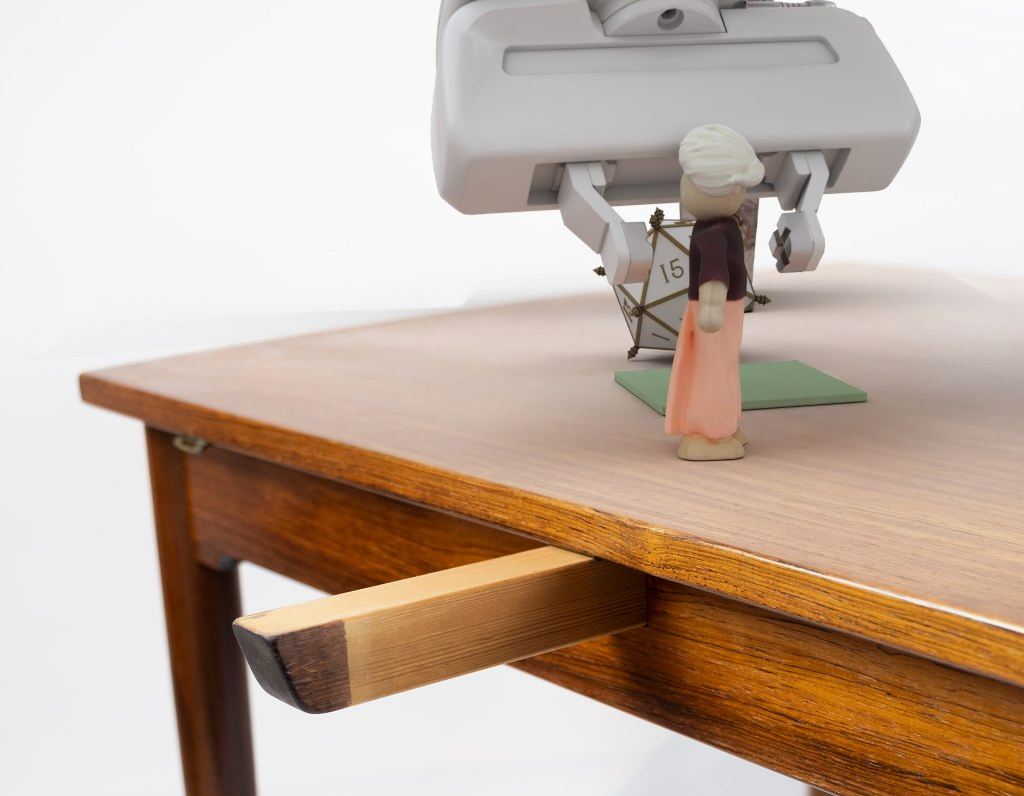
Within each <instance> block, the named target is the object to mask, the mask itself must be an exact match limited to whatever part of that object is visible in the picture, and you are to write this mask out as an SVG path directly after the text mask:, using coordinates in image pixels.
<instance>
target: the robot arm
mask: <svg viewBox="0 0 1024 796" xmlns="http://www.w3.org/2000/svg"><path fill="white" fill-rule="evenodd" d="M437 17H438V18H437V24H436V38H435V77H434V87H433V96H432V104H431V105H432V106H431V113H430V150H431V159H432V168H433V174H434V179H435V180H434V181H435V185H436V188H437V193H438V195H439V197H440V198H441V199H442V200H443V201H444V202H445V203H447V204H448V205H449V206H451V207H452V208H453V209H454V210H455V211H457V212H458V213H461V214H462V215H465V216H476V215H477V216H478V215H491V214H510V213H511V214H512V213H524V212H525V213H526V212H543V211H559V212H560V215H561V220H562V223H563V225H564V227H566V229H568V230H569V231H570V232H572V234H573V235H575V237H577V238H578V239H579V240H580V241H582V242H583V243H584V245H586V246H587V247H588V248H589V249H590V250H592V251H593V252H594V253H595V254H596V255H600V258H601V262H602V267H604V270H605V273H606V280H607V283H608V284H609V285H610V286H612V285H620V284H631V283H641V282H647V280H648V277H649V276H648V271H649V270H651V269H652V266H653V260H654V256H653V248H652V245H651V243H649V242H648V241H647V238H648V235H649V234H648V231H649V230H648V228H647V225H646V221H626V220H624V219H623V217H621V215H620V214H619V213H618V212H617V211H616V210H615V209H614V208H613V207H627V206H628V207H629V206H631V207H632V206H645V205H646V206H648V205H662V204H679V203H682V200H681V195H680V182H681V178H682V175H683V173H684V171H683V168H682V167H681V166H680V162H679V149H680V142H682V141H683V140H684V138H685V137H686V136H687V134H688V133H689V132H690V131H691V130H692V129H694V128H699V127H701V126H704V125H708V124H720V125H724V126H727V127H729V128H731V129H732V130H734V131H735V132H737V133H739V134H740V135H742V136H743V137H744V138H745V139H746V140H747V142H748V143H749V144H750V145H751V146H752V147H753V149H754V152H755V155H756V157H757V158H758V160H759V161H760V162H761V163H762V164H763V166H764V169H765V174H764V178H763V179H762V181H761V182H760V183H759V184H758V185H755V186H753V187H748V188H746V192H745V197H744V199H751V198H759V199H764V198H765V199H766V198H777V201H778V203H779V207H780V209H781V210H782V211H784V212H782V213H781V214H780V216H779V218H778V220H777V222H776V228H777V229H776V230H774V231H773V232H772V234H771V237H770V239H769V240H768V247H769V250H770V254H771V256H772V257H773V258H774V259H775V260H776V263H775V268H776V271H777V272H778V273H779V274H792V273H793V274H794V273H803V272H804V273H805V272H815V271H816V270H817V268H818V266H819V264H820V262H821V260H822V258H823V256H824V253H825V248H826V239H825V236H824V233H823V230H822V227H821V225H820V220H819V218H818V215H817V213H818V211H819V208H820V205H821V202H822V198H823V196H824V195H835V194H837V195H838V194H852V193H871V192H872V193H873V192H879V191H883V190H885V189H887V188H888V187H889V186H890V185H891V184H892V183H893V181H894V179H895V178H896V177H897V176H898V174H899V172H900V170H901V169H902V167H903V166H904V164H905V163H906V160H907V159H908V157H909V155H910V154H911V151H912V149H913V147H914V145H915V143H916V140H917V138H918V135H919V133H920V129H921V126H922V125H921V124H922V116H921V112H920V109H919V106H918V104H917V102H916V99H915V98H914V96H913V93H912V91H911V90H910V88H909V85H908V84H907V82H906V80H905V78H904V76H903V74H902V72H901V70H900V69H899V67H898V65H897V64H896V62H895V60H894V59H893V57H892V55H891V54H890V52H889V51H888V49H887V47H886V46H885V44H884V43H883V41H882V39H881V38H880V36H879V35H878V34H877V32H876V29H875V27H874V26H873V24H872V23H871V22H870V21H869V20H868V19H867V18H866V17H865V16H861V15H858V14H856V13H855V12H852V11H851V10H849V9H846V8H842V7H837V5H836V2H834V1H830V0H805V1H803V2H785V1H775V0H774V1H757V2H747V0H440V4H439V10H438V16H437ZM793 210H794V211H793ZM788 211H790V212H788ZM791 211H792V212H791Z"/></svg>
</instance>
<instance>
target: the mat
mask: <svg viewBox="0 0 1024 796" xmlns="http://www.w3.org/2000/svg"><path fill="white" fill-rule="evenodd" d="M671 371H672V367H671V368H657V369H656V368H655V369H644V370H628V371H627V370H626V371H614V373H613V376H614V377H613V378H614V381H616V382H617V383H618V384H620V385H621V386H622V387H624V388H625V389H627V390H628V391H629V392H630V393H632V394H633V395H634V396H636V397H638V398H639V399H640V400H642V402H643V403H645V404H647V405H648V406H649V407H651V408H652V409H654V410H655V411H656V412H657V413H659V414H661V415H662V416H666V405H667V397H668V390H669V383H670V376H671ZM739 377H740V388H741V411H743V410H756V409H757V410H758V409H771V408H781V407H782V408H786V407H787V408H788V407H799V406H801V407H802V406H812V405H814V406H815V405H827V404H828V405H829V404H841V403H842V404H843V403H855V402H867V401H868V394H869V393H868V392H867V391H865V390H862V389H860V388H858V387H856V386H853V385H852V384H849V383H847V382H845V381H843V380H840V379H839V378H837V377H834V376H832V375H830V374H827V373H825V372H823V371H821V370H820V369H817V368H815V367H812V366H811V365H808V364H806V363H804V362H803V361H799V360H797V359H794V360H779V361H778V360H777V361H764V362H763V361H762V362H748V363H747V362H746V363H739Z"/></svg>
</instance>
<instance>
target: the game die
mask: <svg viewBox="0 0 1024 796" xmlns="http://www.w3.org/2000/svg"><path fill="white" fill-rule="evenodd" d="M738 212H739V209H738V210H737V211H736V212H735V213H734V214H733V215H732V217H733V218H734V219H736V218H738ZM696 221H697V220H680V218H679V219H676V218H675V219H674V218H665V214H664V210H663V209H662V208H661V209H660V208H659V207H657V206H656V207H655V211H654V212H653V214H652V213H651V214H650V218H649V221H648V224H650V228H649V229H648V230H647V231H648V234H649V235H648V238H647V241H648V242H649V243H651V245H652V248H653V256H654V260H653V266H652V269H651V270H649V271H648V276H649V277H648V280H647V282H641V283H631V284H620V285H611V286H612V289H613V291H614V294H615V298H616V299H617V302H618V304H619V307H620V310H621V312H622V315H623V318H624V321H625V324H626V326H627V328H628V331H629V334H630V336H631V338H632V341H633V344H634V345H633V346H632V347H630V349H629V350H627V358H626V360H627V361H628V360H630V359H634V358H636V357H637V355H639V350H640V349H645V350H655V351H656V350H658V351H669V352H670V351H671V352H672V351H673V352H675V351H676V346H677V341H678V336H679V331H680V326H681V322H682V318H683V315H684V312H685V309H686V306H687V303H688V300H689V299H688V289H689V246H690V239H691V236H692V230H693V227H694V225H695V223H696ZM746 270H747V269H746ZM592 271H593V272H594V273H595V274H596V275H597V276H598V277H601V276H602V277H603V278H604V277H605V276H606V273H605V270H604V266H602V265H599V266H598V267H595V268H593V269H592ZM771 302H772V300H771V298H769V297H768V296H767V294H765V295H763V294H759V295H757V294H756V292H755V289H754V286H753V282H752V283H751V280H750V278H749V275H748V272H747V294H746V297H745V300H744V313H745V312H747V311H746V310H747V309H748V308H749V307H750V306H751V305H752V304H753V303H757V304H758V305H763V306H765V305H767V304H769V303H771Z"/></svg>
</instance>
